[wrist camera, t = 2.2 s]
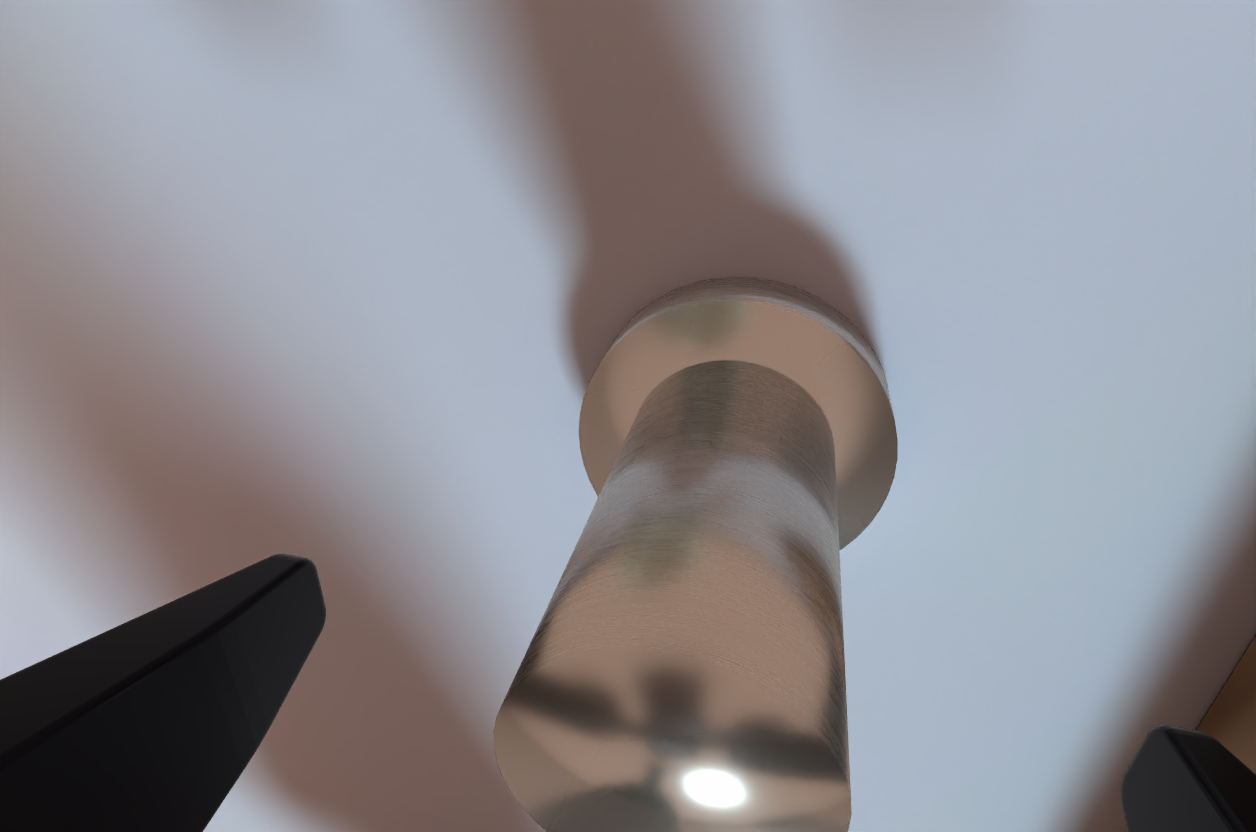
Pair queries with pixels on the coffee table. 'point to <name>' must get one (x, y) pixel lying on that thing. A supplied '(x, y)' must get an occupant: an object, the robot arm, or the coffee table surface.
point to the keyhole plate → (1236, 711)
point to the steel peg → (707, 575)
